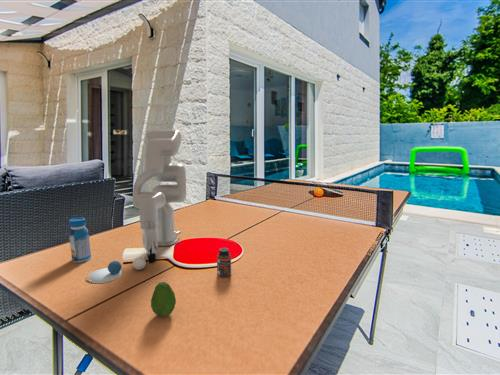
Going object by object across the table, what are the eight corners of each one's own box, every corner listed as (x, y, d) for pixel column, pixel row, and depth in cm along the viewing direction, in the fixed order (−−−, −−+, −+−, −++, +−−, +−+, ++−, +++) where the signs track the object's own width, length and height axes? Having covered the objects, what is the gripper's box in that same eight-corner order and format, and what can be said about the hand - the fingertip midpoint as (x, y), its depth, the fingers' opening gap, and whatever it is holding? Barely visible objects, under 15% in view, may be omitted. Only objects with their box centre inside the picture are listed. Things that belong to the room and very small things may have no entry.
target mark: (108, 265, 146) (108, 265, 146) (128, 272, 139) (128, 272, 139) (78, 278, 134) (78, 277, 134) (99, 286, 127) (99, 286, 127)
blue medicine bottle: (86, 263, 149) (81, 221, 145) (68, 263, 149) (62, 221, 145) (94, 255, 157) (90, 216, 153) (77, 255, 158) (73, 216, 154)
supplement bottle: (218, 278, 133) (217, 253, 131) (216, 272, 138) (215, 247, 136) (232, 276, 134) (232, 251, 132) (229, 270, 140) (229, 246, 138)
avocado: (167, 324, 103) (164, 289, 101) (147, 318, 106) (144, 285, 103) (181, 310, 110) (179, 278, 108) (162, 306, 113) (159, 274, 111)
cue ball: (135, 253, 143) (132, 264, 144) (132, 259, 138) (130, 270, 139) (148, 256, 144) (145, 267, 145) (145, 262, 139) (143, 273, 140)
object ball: (120, 260, 142) (106, 263, 140) (120, 258, 138) (106, 262, 135) (122, 272, 141) (109, 276, 139) (123, 270, 136) (109, 275, 134)
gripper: (137, 220, 147) (140, 257, 150) (143, 229, 134) (146, 270, 137) (154, 217, 150) (156, 254, 154) (161, 226, 137) (164, 266, 141)
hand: (152, 262), depth 146 cm, fingers closed
